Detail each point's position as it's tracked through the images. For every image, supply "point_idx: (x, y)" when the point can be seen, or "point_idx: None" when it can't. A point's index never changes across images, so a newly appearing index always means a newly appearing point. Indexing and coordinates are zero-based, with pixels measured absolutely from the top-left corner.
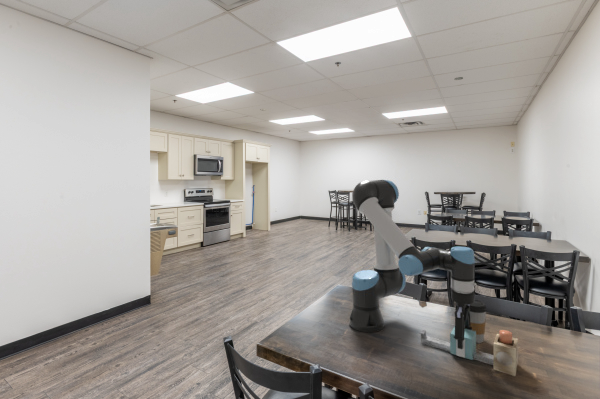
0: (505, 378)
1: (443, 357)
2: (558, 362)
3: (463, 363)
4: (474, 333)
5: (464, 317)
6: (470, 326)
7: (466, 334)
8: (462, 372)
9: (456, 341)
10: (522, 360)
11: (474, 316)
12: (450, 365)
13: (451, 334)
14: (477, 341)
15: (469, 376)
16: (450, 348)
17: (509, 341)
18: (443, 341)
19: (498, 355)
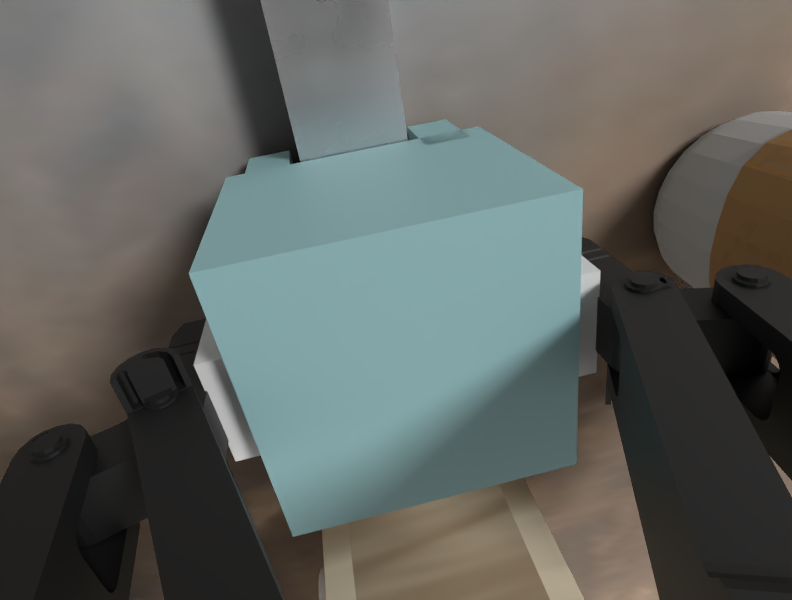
0: (272, 541)
1: (111, 123)
2: (657, 593)
3: (199, 312)
4: (497, 483)
5: (670, 563)
6: (786, 276)
7: (388, 441)
8: (47, 367)
9: (202, 335)
10: (572, 513)
11: None
12: (39, 250)
13: (201, 289)
14: (664, 260)
15: (51, 422)
16: (223, 185)
17: None
18: (363, 1)
19: None
